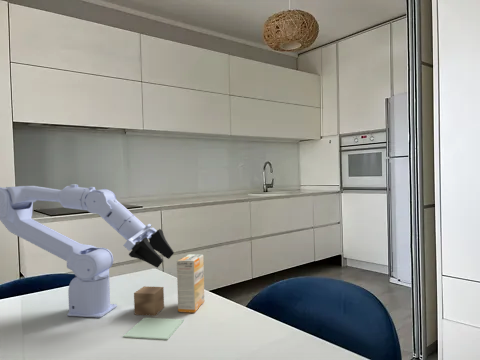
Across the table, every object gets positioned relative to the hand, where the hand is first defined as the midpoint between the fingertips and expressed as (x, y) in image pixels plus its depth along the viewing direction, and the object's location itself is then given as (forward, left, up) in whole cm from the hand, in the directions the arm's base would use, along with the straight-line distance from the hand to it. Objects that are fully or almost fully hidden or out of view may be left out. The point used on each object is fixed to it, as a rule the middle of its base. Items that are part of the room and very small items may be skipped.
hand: (166, 259), depth 90 cm
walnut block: (-5, +1, -13) cm, 14 cm away
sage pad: (+1, -9, -13) cm, 16 cm away
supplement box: (+5, +5, -14) cm, 15 cm away
